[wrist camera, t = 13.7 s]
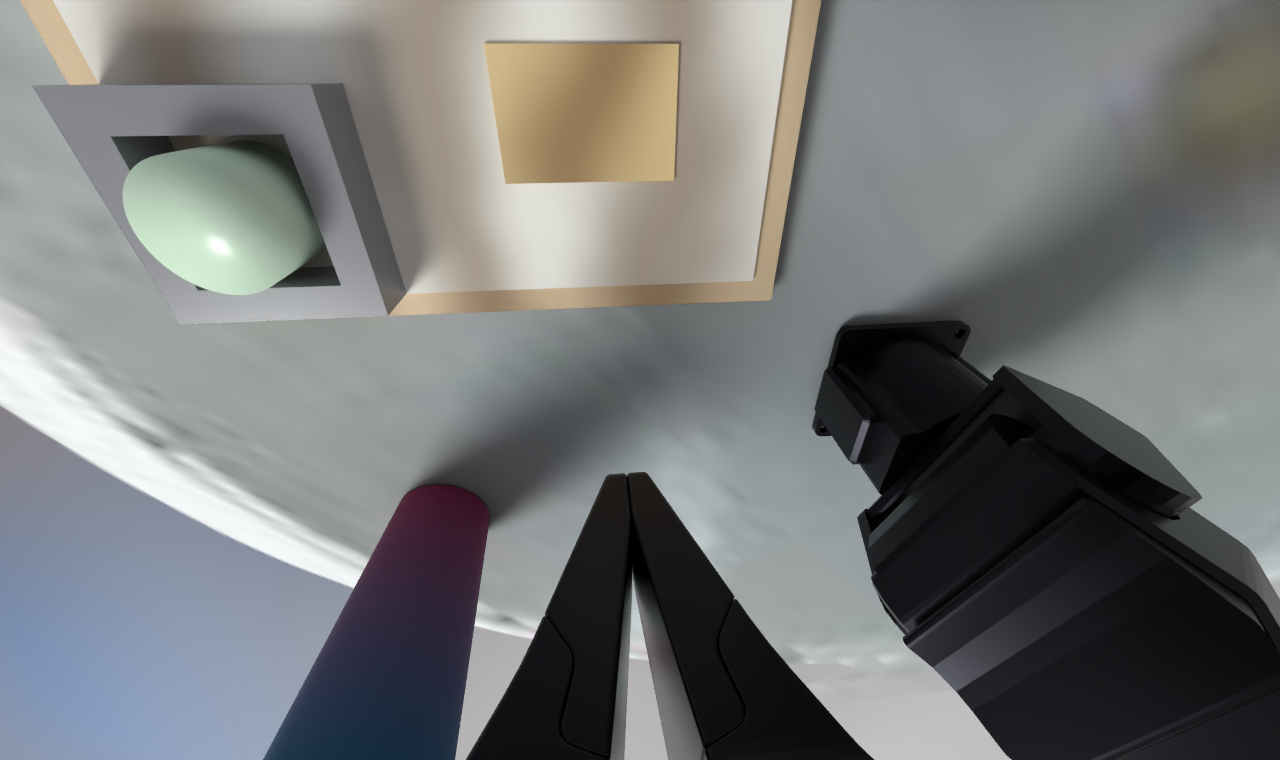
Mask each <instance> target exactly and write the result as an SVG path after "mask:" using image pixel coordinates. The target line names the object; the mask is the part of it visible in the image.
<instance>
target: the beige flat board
mask: <svg viewBox="0 0 1280 760" xmlns="http://www.w3.org/2000/svg"><path fill="white" fill-rule="evenodd" d="M20 1H21V3H22V4H23V6H24V8H25V10H26V11H27V13H28V15H29V17H30V18H31V20H32V22H33V23H34V25H35V27H36V29H37V30H38V32H39V34H40V35H41V37H42V39H43V41H44V42H45V44H46V46H47V48H48V49H49V51H50V53H51V54H52V56H53V58H54V60H55V61H56V63H57V65H58V67H59V68H60V70H61V72H62V73H63V75H64V77H65V79H66V80H67V82H68V84H69V85H85V84H259V83H343V85H344V89H345V92H346V95H347V99H348V102H349V105H350V109H351V112H352V115H353V119H354V122H355V125H356V128H357V132H358V135H359V138H360V142H361V145H362V148H363V152H364V155H365V158H366V162H367V165H368V168H369V172H370V175H371V178H372V181H373V185H374V188H375V191H376V195H377V198H378V201H379V205H380V208H381V211H382V215H383V218H384V221H385V224H386V228H387V231H388V234H389V238H390V241H391V244H392V248H393V251H394V254H395V258H396V261H397V264H398V267H399V271H400V274H401V277H402V281H403V284H404V287H405V291H406V295H405V296H404V297H403V299H402V300H401V301H400V302H399V303H398V305H397V306H396V307H395V308H394V310H393V311H392V312H391V313H390V314H389V316H394V315H419V314H444V313H469V312H493V311H518V310H543V309H568V308H592V307H617V306H642V305H666V304H691V303H716V302H741V301H765V300H771V298H772V292H773V286H774V280H775V274H776V268H777V262H778V256H779V250H780V244H781V238H782V232H783V226H784V220H785V214H786V208H787V202H788V196H789V190H790V184H791V178H792V172H793V166H794V160H795V154H796V148H797V142H798V136H799V131H800V125H801V119H802V113H803V107H804V101H805V95H806V89H807V83H808V77H809V71H810V65H811V59H812V53H813V47H814V41H815V35H816V29H817V23H818V17H819V11H820V5H821V0H20ZM169 138H170V140H171V142H172V144H173V146H174V148H175V150H176V151H181V150H186V149H191V148H196V147H202V146H207V145H212V144H217V143H222V142H228V141H234V140H250V141H256V142H260V143H264V144H267V145H270V146H272V147H274V148H277V149H279V150H281V151H283V152H284V153H286V154H288V155H289V156H291V157H292V155H291V153H290V150H289V148H288V145H287V142H286V140H285V137H284V134H271V135H187V136H169ZM330 266H334V265H333V263H332V260H331V258H330V255H329V252H328V250H327V247H326V248H325V249H324V250H323V251H322V252H321V253H320V254H319V255H317V256H316V257H314V258H313V259H311V260H310V261H308V262H307V263H306V264H304V265H303V266H301V267H330Z"/></svg>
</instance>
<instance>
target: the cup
mask: <svg viewBox="0 0 1280 760" xmlns="http://www.w3.org/2000/svg"><path fill="white" fill-rule="evenodd" d="M489 517H490V515H489V511H488V509H487V507H486V505H485V504H484V502H483V501H482V500H481V499H480V498H478V497H477V496H476V495H474V494H473V493H471V492H469V491H467V490H465V489H462V488H459V487H455V486H450V485H428V486H423V487H420V488H417V489H414V490H412V491H411V492H409V493H408V494H406V495H405V496H404V497H403V498H402V500H401V502H400V503H399V505H398V507H397V509H396V511H395V513H394V515H393V516H392V518H391V520H390V522H389V524H388V526H387V528H386V530H385V531H384V533H383V535H382V537H381V539H380V541H379V543H378V545H377V546H376V548H375V550H374V552H373V554H372V556H371V558H370V560H369V562H368V563H367V565H366V567H365V569H364V571H363V573H362V575H361V577H360V578H359V580H358V582H357V584H356V586H355V588H354V590H353V592H352V593H351V595H350V597H349V599H348V601H347V603H346V605H345V607H344V608H343V611H342V612H341V614H340V616H339V618H338V620H337V622H336V624H335V626H334V628H333V629H332V631H331V633H330V635H329V637H328V639H327V641H326V643H325V644H324V646H323V648H322V650H321V652H320V654H319V656H318V658H317V659H316V661H315V663H314V665H313V667H312V669H311V670H310V672H309V675H308V676H307V678H306V680H305V682H304V684H303V686H302V687H301V689H300V691H299V693H298V695H297V697H296V699H295V701H294V702H293V704H292V706H291V708H290V710H289V712H288V714H287V716H286V717H285V719H284V721H283V724H282V725H281V727H280V729H279V731H278V733H277V734H276V736H275V738H274V740H273V742H272V744H271V746H270V748H269V749H268V751H267V753H266V755H265V757H264V759H263V760H455V755H456V749H457V742H458V735H459V728H460V721H461V714H462V706H463V700H464V693H465V686H466V679H467V672H468V665H469V658H470V652H471V645H472V638H473V630H474V624H475V617H476V610H477V603H478V596H479V589H480V582H481V575H482V568H483V561H484V554H485V547H486V540H487V533H488V526H489Z"/></svg>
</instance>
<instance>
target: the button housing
mask: <svg viewBox="0 0 1280 760" xmlns="http://www.w3.org/2000/svg"><path fill="white" fill-rule="evenodd" d="M33 88H34V90H35V91H36V93H37V95H38V96H39V98H40V99H41V101H42V103H43V104H44V106H45V108H46V109H47V111H48V112H49V114H50V116H51V117H52V119H53V120H54V122H55V124H56V125H57V127H58V129H59V130H60V132H61V133H62V135H63V137H64V138H65V140H66V141H67V143H68V145H69V146H70V148H71V150H72V151H73V153H74V154H75V156H76V158H77V159H78V161H79V163H80V164H81V166H82V167H83V169H84V171H85V172H86V174H87V175H88V177H89V179H90V180H91V182H92V184H93V185H94V187H95V188H96V190H97V192H98V193H99V195H100V197H101V198H102V200H103V201H104V203H105V205H106V206H107V208H108V209H109V211H110V213H111V214H112V216H113V218H114V219H115V221H116V222H117V224H118V226H119V227H120V229H121V231H122V232H123V234H124V235H125V237H126V239H127V240H128V242H129V243H130V245H131V247H132V248H133V250H134V252H135V253H136V255H137V256H138V258H139V260H140V261H141V263H142V264H143V266H144V268H145V269H146V271H147V273H148V274H149V276H150V277H151V279H152V281H153V282H154V284H155V286H156V287H157V289H158V290H159V292H160V294H161V295H162V297H163V298H164V300H165V302H166V303H167V305H168V307H169V308H170V310H171V311H172V313H173V315H174V316H175V318H176V320H177V321H178V323H179V324H202V323H227V322H252V321H277V320H301V319H326V318H351V317H375V316H389V314H390V313H391V312H392V311H393V310H394V308H395V307H396V306H397V305H398V303H399V302H400V301H401V300H402V299H403V297H404V296H405V295H406V291H405V287H404V284H403V281H402V277H401V274H400V271H399V267H398V264H397V261H396V258H395V254H394V251H393V248H392V244H391V241H390V238H389V234H388V231H387V228H386V224H385V221H384V218H383V215H382V211H381V208H380V205H379V201H378V198H377V195H376V191H375V188H374V185H373V181H372V178H371V175H370V172H369V168H368V165H367V162H366V158H365V155H364V152H363V148H362V145H361V142H360V138H359V135H358V132H357V128H356V125H355V122H354V119H353V115H352V112H351V109H350V105H349V102H348V99H347V95H346V92H345V89H344V85H343V83H259V84H85V85H45V86H33ZM271 134H284V137H285V140H286V142H287V145H288V148H289V150H290V153H291V155H292V158H293V161H294V163H295V166H296V168H297V171H298V174H299V176H300V179H301V182H302V184H303V187H304V189H305V192H306V195H307V197H308V200H309V203H310V205H311V208H312V210H313V213H314V216H315V218H316V221H317V223H318V226H319V229H320V231H321V234H322V237H323V239H324V242H325V244H326V247H327V250H328V252H329V255H330V258H331V260H332V263H333V265H334V266H330V267H300V268H298V269H297V270H295V271H294V272H292V273H291V274H289V275H288V276H286V277H285V278H283V279H282V280H280V281H279V282H277V283H276V284H274V285H273V286H271V287H270V288H268V289H266V290H264V291H261V292H259V293H255V294H250V295H229V294H222V293H218V292H214V291H210V290H207V289H204V288H202V287H199V286H197V285H195V284H192V283H190V282H189V281H187V280H185V279H183V278H181V277H180V276H178V275H176V274H175V273H173V272H172V271H171V270H169V269H168V268H166V267H165V266H164V265H163V264H161V263H160V262H159V261H158V260H157V259H156V258H155V257H154V256H153V255H152V254H151V253H150V252H149V251H148V250H147V249H146V248H145V246H144V245H143V244H142V243H141V242H140V240H139V239H138V237H137V236H136V234H135V233H134V231H133V229H132V227H131V225H130V224H129V221H128V219H127V216H126V213H125V209H124V205H123V196H122V195H123V186H124V182H125V179H126V177H127V175H128V173H129V172H130V170H131V169H132V168H133V167H134V166H135V165H136V164H138V163H139V162H141V161H142V160H144V159H147V158H149V157H152V156H156V155H160V154H165V153H170V152H176V150H175V148H174V146H173V144H172V142H171V140H170V138H169V136H187V135H271Z"/></svg>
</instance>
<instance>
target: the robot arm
mask: <svg viewBox="0 0 1280 760" xmlns="http://www.w3.org/2000/svg"><path fill="white" fill-rule="evenodd" d="M958 330H959V331H958ZM957 331H958V333H956V332H957ZM955 333H956V334H955ZM969 334H970V327H969V326H968V325H966V324H965V323H963V322H962V321H944V322H922V323H900V324H878V325H856V326H846V327H843V328H841V329H840V330H839V331H838V333H837V335H836V338H835V341H834V345H833V349H832V353H831V357H830V360H829V364H828V367H827V369H826V370H825V371H824V375H823V379H822V382H821V386H820V390H819V394H818V398H817V402H816V405H815V411H816V414H815V417H814V421H813V425H812V428H813V430H814V431H815V433H816V434H817V435H818V436H832V437H833V438H834V440H835V441H836V443H837V444H838V446H839V447H840V449H841V450H842V452H843V453H844V455H845V456H846V458H847V459H848V460H849V461H850V462H851V463H852V464H860V466H861V467H862V469H863V470H864V472H865V473H866V474H867V476H868V477H869V479H870V480H871V482H872V483H873V485H874V486H875V488H876V489H877V490H878V492H879V493H880V494H881V497H880V498H879V499H878V500H877V501H876V502H875V503H874V504H873V505H872V506H871V507H870V508H869V509H865V510H864V511H863V512H862V513H861V514H860V515H859V516H858V517H857V519H858V523H859V526H860V530H861V534H862V538H863V542H864V545H865V549H866V553H867V557H868V560H869V564H870V568H871V572H872V576H871V579H872V583H873V586H874V588H875V590H876V591H877V593H878V596H879V599H880V601H881V603H882V605H883V607H884V609H885V611H886V612H887V614H889V616H890V617H891V619H892V620H893V621H894V623H895V624H896V625H897V626H898V627H899V628H900V630H901V631H902V632H903V633H904V634H905V636H904V637H903V641H904V643H905V644H906V646H907V647H908V648H909V649H911V650H912V651H913V652H914V653H916V654H917V655H918V656H919V657H921V658H922V659H923V660H924V661H925V662H927V663H928V664H929V665H930V666H932V667H933V668H934V669H935V670H936V671H937V672H938V673H939V674H940V675H941V676H942V677H943V679H944V680H945V681H946V682H947V683H948V684H949V685H950V686H951V687H952V688H953V689H954V690H955V691H956V692H957V693H958V694H959V695H960V697H961V698H962V699H963V700H964V702H965V703H966V704H967V705H968V706H969V708H970V709H971V710H972V711H973V713H974V714H975V715H976V716H977V718H978V719H979V720H980V722H981V723H982V724H983V726H984V727H985V728H986V730H987V731H988V732H989V733H990V735H991V736H992V737H993V739H994V740H995V741H996V743H997V744H998V745H999V746H1000V748H1001V749H1002V750H1003V752H1004V753H1005V754H1006V755H1007V756H1008V757H1009V758H1011V759H1012V760H1280V599H1279V597H1278V596H1277V594H1276V592H1275V590H1274V589H1273V587H1272V585H1271V584H1270V582H1269V580H1268V578H1267V577H1266V575H1265V573H1264V572H1263V570H1262V568H1261V566H1260V565H1259V563H1258V561H1257V559H1256V558H1255V556H1254V555H1253V554H1252V552H1251V551H1250V550H1249V549H1248V548H1247V547H1246V546H1245V545H1243V544H1242V543H1241V542H1240V541H1238V540H1237V539H1235V538H1234V537H1232V536H1231V535H1229V534H1228V533H1226V532H1225V531H1223V530H1222V529H1220V528H1219V527H1217V526H1216V525H1214V524H1213V523H1211V522H1210V521H1209V520H1207V519H1206V518H1204V517H1203V516H1201V515H1200V514H1198V513H1197V512H1195V511H1194V510H1192V509H1191V508H1189V507H1190V506H1192V505H1193V504H1195V503H1196V502H1198V501H1199V500H1200V499H1202V497H1201V495H1200V494H1199V493H1198V491H1197V490H1196V489H1195V488H1194V487H1193V486H1192V485H1191V484H1190V483H1189V482H1188V481H1187V480H1186V479H1185V478H1184V477H1183V476H1182V475H1181V473H1180V472H1179V471H1178V470H1177V469H1176V468H1175V467H1174V466H1173V465H1172V464H1171V463H1170V462H1169V461H1168V460H1167V459H1166V458H1165V457H1164V455H1163V454H1162V453H1161V452H1160V451H1159V450H1158V449H1157V448H1156V447H1155V446H1154V445H1153V444H1152V443H1151V442H1150V441H1149V440H1148V439H1147V438H1146V437H1145V436H1144V435H1142V434H1141V433H1139V432H1137V431H1136V430H1134V429H1133V428H1131V427H1129V426H1128V425H1126V424H1124V423H1123V422H1121V421H1119V420H1118V419H1116V418H1115V417H1113V416H1111V415H1110V414H1108V413H1106V412H1105V411H1103V410H1101V409H1100V408H1098V407H1097V406H1095V405H1093V404H1092V403H1090V402H1088V401H1087V400H1085V399H1083V398H1081V397H1078V396H1076V395H1074V394H1071V393H1069V392H1067V391H1064V390H1062V389H1059V388H1057V387H1055V386H1052V385H1050V384H1047V383H1045V382H1043V381H1040V380H1038V379H1035V378H1033V377H1031V376H1028V375H1026V374H1023V373H1021V372H1019V371H1016V370H1014V369H1011V368H1009V367H1007V366H1004V365H1003V366H1002V367H1001V368H1000V369H999V370H998V371H997V372H996V373H995V374H994V375H993V376H992V377H993V378H994V379H993V380H992V381H991V380H990V379H989V378H987V377H986V376H985V375H983V374H982V373H981V372H979V371H978V370H977V369H976V368H974V367H973V366H972V365H970V364H969V363H968V362H966V361H965V360H964V359H962V358H961V357H960V354H961V352H962V350H963V348H964V345H965V343H966V341H967V339H968V336H969ZM848 335H851V336H850V338H848V339H846V340H845V338H846V337H847V336H848ZM822 426H824V427H823V428H821V427H822ZM632 572H633V581H634V587H635V592H636V597H637V603H638V608H639V613H640V618H641V623H642V628H643V633H644V638H645V643H646V648H647V653H648V658H649V663H650V669H651V673H652V679H653V684H654V689H655V694H656V699H657V704H658V709H659V714H660V719H661V724H662V729H663V735H664V740H665V745H666V750H667V755H668V760H874V759H873V758H872V757H871V756H870V755H869V754H867V753H866V752H865V751H864V750H863V749H862V748H861V747H860V746H859V745H858V744H857V743H856V742H855V740H854V739H853V738H852V737H851V736H850V735H849V734H848V733H847V732H846V731H845V730H844V728H843V727H842V726H841V725H840V724H839V723H838V722H837V721H836V719H835V718H834V717H833V716H832V715H831V714H830V713H829V711H828V710H827V709H826V708H825V707H824V706H823V705H822V703H821V702H820V701H819V700H818V699H817V698H816V697H815V696H814V694H813V693H812V692H811V691H810V690H809V689H808V688H807V686H806V685H805V684H804V683H803V682H802V681H801V680H800V679H799V678H798V676H797V675H796V674H795V673H794V672H793V671H792V670H791V668H789V666H788V665H787V664H786V663H785V661H784V660H783V659H782V658H781V657H780V655H779V654H778V653H777V652H776V651H775V649H774V648H773V647H772V646H771V645H770V644H769V642H768V641H767V640H766V639H765V637H764V636H763V635H762V633H761V632H760V631H759V629H758V628H757V627H756V625H755V624H754V623H753V621H752V620H751V619H750V617H749V616H748V614H747V613H746V612H745V610H744V609H743V607H742V606H741V605H740V603H739V602H738V600H736V599H734V595H733V594H732V592H731V591H730V589H729V588H728V587H727V585H726V584H725V582H724V581H723V579H722V578H721V577H720V575H719V574H718V572H717V571H716V570H715V568H714V567H713V565H712V564H711V563H710V561H709V560H708V558H707V557H706V555H705V554H704V553H703V551H702V550H701V548H700V547H699V546H698V544H697V543H696V541H695V540H694V539H693V537H692V536H691V534H690V533H689V531H688V530H687V529H686V527H685V526H684V524H683V523H682V522H681V520H680V519H679V517H678V516H677V514H676V513H675V512H674V510H673V509H672V507H671V506H670V505H669V503H668V502H667V500H666V499H665V498H664V496H663V495H662V493H661V492H660V490H659V489H658V488H657V486H656V485H655V483H654V482H653V481H652V479H651V478H650V476H649V475H648V474H647V473H645V472H637V473H629V474H628V475H627V476H626V474H623V473H622V474H609V475H607V476H606V478H605V480H604V482H603V484H602V486H601V489H600V491H599V493H598V495H597V498H596V500H595V502H594V504H593V507H592V509H591V511H590V513H589V516H588V518H587V520H586V522H585V525H584V527H583V529H582V531H581V533H580V536H579V538H578V540H577V542H576V545H575V547H574V549H573V551H572V554H571V556H570V558H569V560H568V563H567V565H566V567H565V569H564V572H563V574H562V576H561V578H560V581H559V583H558V585H557V587H556V589H555V592H554V594H553V596H552V598H551V601H550V603H549V605H548V607H547V610H546V612H545V616H544V617H543V618H542V620H541V623H540V625H539V627H538V629H537V631H536V634H535V636H534V638H533V640H532V642H531V644H530V646H529V648H528V650H527V653H526V655H525V657H524V659H523V661H522V663H521V665H520V667H519V669H518V670H517V672H516V674H515V676H514V678H513V679H512V681H511V683H510V685H509V687H508V688H507V690H506V692H505V694H504V696H503V698H502V699H501V701H500V702H499V704H498V706H497V708H496V709H495V711H494V713H493V714H492V716H491V718H490V720H489V721H488V723H487V725H486V726H485V728H484V730H483V731H482V733H481V735H480V736H479V738H478V740H477V742H476V743H475V745H474V747H473V748H472V750H471V752H470V753H469V755H468V757H467V759H466V760H624V750H625V729H626V709H627V688H628V667H629V646H630V626H631V605H632Z"/></svg>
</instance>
